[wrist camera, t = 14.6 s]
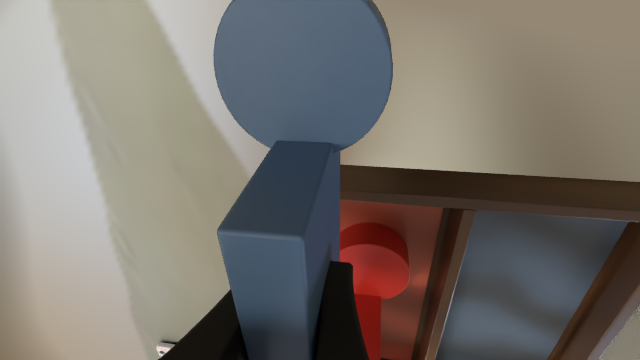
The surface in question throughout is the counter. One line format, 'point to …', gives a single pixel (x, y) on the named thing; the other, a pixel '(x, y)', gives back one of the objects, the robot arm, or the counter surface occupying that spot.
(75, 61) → the counter surface
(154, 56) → the counter surface
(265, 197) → the blue spoon
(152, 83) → the counter surface
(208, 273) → the counter surface
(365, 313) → the red spoon
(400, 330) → the sorting tray
